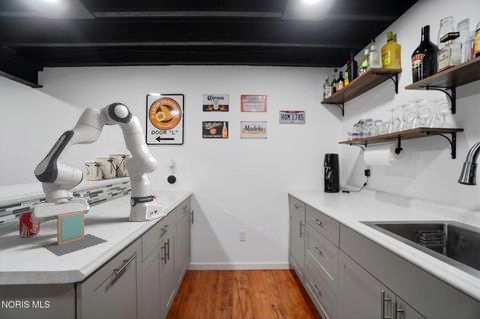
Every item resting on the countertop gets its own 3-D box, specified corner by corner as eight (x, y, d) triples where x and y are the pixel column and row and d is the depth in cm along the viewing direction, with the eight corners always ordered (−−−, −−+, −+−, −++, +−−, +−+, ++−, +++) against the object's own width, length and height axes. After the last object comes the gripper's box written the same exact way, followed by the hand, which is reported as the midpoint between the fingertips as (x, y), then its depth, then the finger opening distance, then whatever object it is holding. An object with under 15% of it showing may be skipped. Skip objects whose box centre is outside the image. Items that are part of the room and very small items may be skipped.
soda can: (26, 238, 97) (26, 212, 97) (15, 238, 98) (15, 212, 99) (43, 233, 104) (43, 209, 104) (32, 233, 105) (32, 209, 106)
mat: (89, 235, 100) (89, 233, 100) (108, 242, 90) (108, 241, 90) (41, 247, 86) (41, 245, 86) (58, 257, 76) (58, 256, 76)
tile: (82, 237, 95) (82, 211, 95) (84, 238, 94) (84, 211, 94) (57, 244, 88) (57, 215, 88) (59, 245, 87) (58, 216, 87)
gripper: (30, 199, 89) (36, 225, 83) (86, 193, 106) (94, 215, 100) (27, 208, 91) (33, 235, 85) (82, 201, 108) (90, 223, 103)
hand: (67, 224), depth 93 cm, fingers closed
